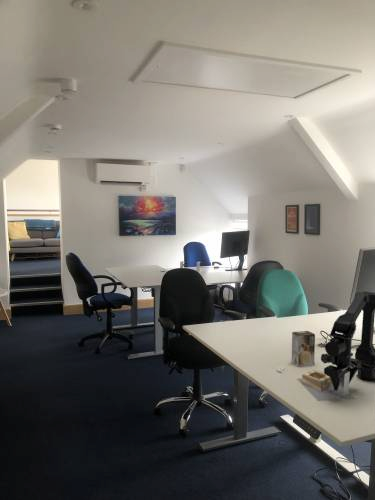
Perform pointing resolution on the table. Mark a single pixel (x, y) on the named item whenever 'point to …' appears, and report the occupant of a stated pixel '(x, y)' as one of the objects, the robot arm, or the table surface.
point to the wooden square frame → (316, 380)
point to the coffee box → (303, 348)
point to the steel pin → (343, 385)
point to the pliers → (280, 370)
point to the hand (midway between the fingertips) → (341, 387)
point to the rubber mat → (325, 393)
